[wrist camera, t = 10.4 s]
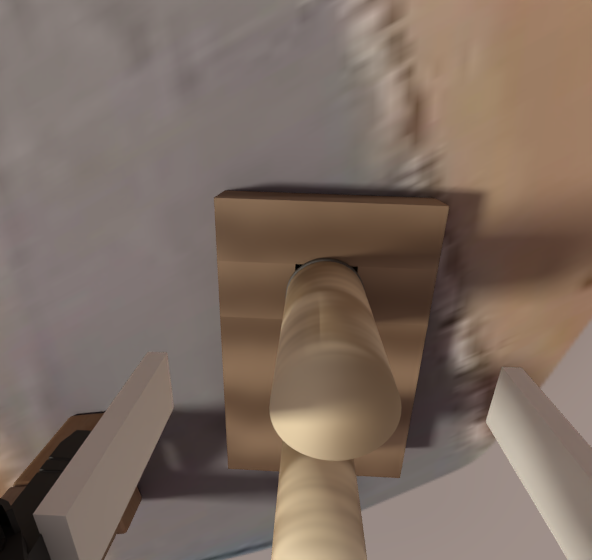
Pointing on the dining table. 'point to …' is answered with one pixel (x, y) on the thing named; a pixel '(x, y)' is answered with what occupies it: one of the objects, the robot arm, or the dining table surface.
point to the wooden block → (67, 429)
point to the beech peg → (331, 367)
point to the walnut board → (267, 327)
